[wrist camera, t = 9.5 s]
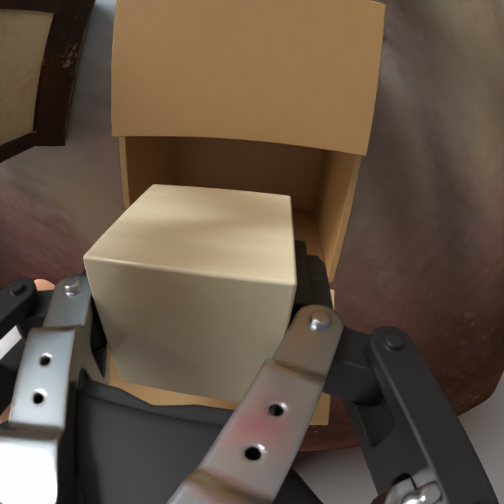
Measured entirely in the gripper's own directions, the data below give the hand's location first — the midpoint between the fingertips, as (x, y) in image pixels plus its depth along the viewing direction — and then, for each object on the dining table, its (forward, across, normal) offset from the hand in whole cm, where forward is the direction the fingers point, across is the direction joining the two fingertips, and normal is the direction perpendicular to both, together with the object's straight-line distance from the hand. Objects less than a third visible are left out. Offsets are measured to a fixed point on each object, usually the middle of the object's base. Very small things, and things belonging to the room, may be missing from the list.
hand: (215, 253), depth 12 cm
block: (0, 0, 0) cm, 0 cm away
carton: (+14, 0, -4) cm, 14 cm away
